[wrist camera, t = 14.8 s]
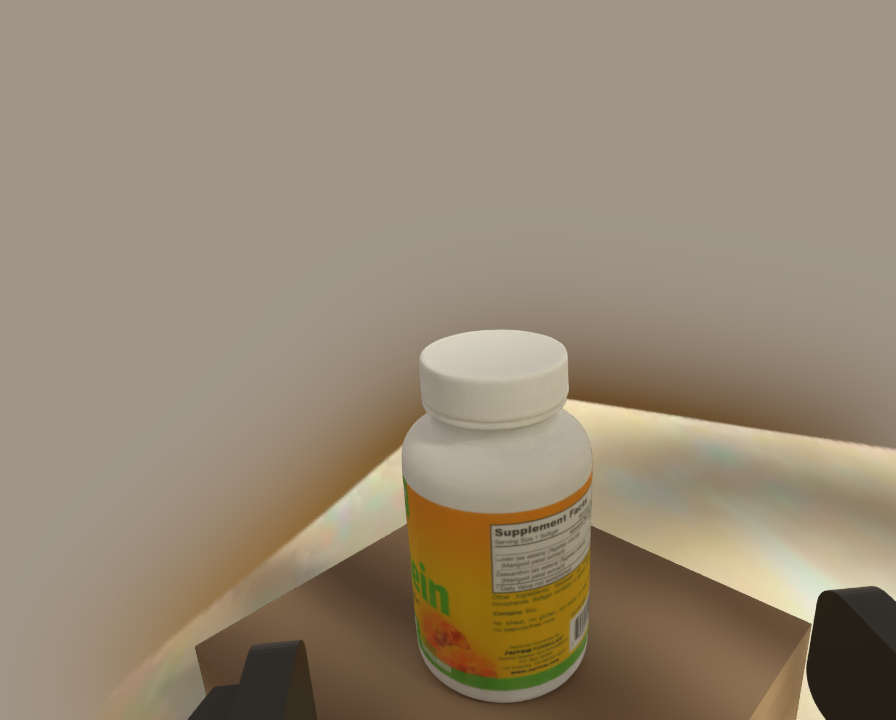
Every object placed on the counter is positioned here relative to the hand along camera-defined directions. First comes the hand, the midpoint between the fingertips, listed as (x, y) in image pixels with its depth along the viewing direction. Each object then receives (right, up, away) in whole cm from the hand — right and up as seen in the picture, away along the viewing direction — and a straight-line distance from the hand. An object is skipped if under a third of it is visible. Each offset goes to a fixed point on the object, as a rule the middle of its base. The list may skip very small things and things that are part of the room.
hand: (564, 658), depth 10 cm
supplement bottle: (0, -4, +11) cm, 12 cm away
